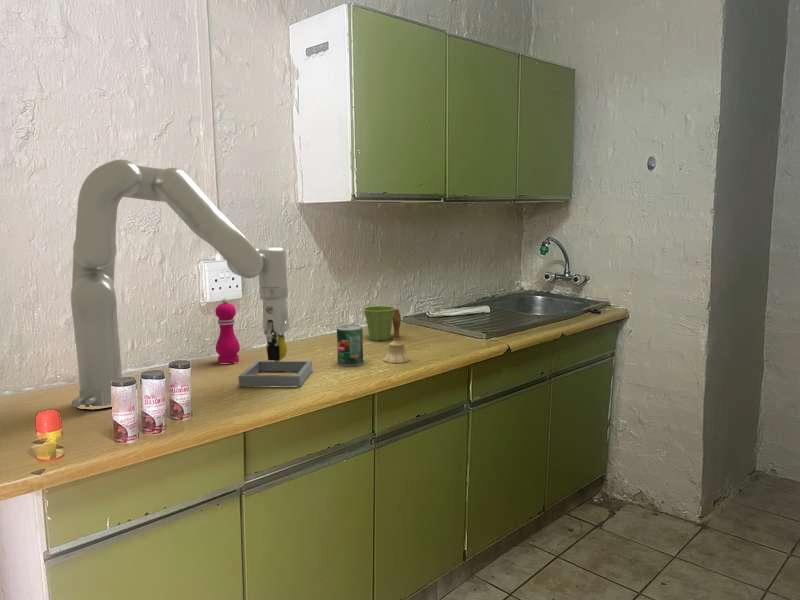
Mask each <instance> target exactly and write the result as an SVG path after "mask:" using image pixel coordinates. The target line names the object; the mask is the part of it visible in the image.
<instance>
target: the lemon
mask: <svg viewBox="0 0 800 600" xmlns="http://www.w3.org/2000/svg"><path fill="white" fill-rule="evenodd" d="M272 338H274V339H275V337H272ZM278 346H279V350H280V360H273V361H275V362H277V363H278V362H279V361H282V360H283V359H285V357H286V354H287V351H288V349H287V348H288V347H287V342H286V339H285V340H284V339H283V338H282V337H281V336H278ZM265 349H266V354H267V355H268V352H267V345H266V348H265Z"/></svg>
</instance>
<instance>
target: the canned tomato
mask: <svg viewBox="0 0 800 600" xmlns="http://www.w3.org/2000/svg"><path fill="white" fill-rule="evenodd" d="M363 334H364V333H363V326H362V325H359V324H344V325H338V326H337V327H336V343H337V344H336V347H337V348H336V349H337V350H336V351H337V364H338V365H340V366H344V367H346V366H347V367H348V366H349V367H350V366H351V367H352V366H359V365H362V364H363V363H364V340H363Z"/></svg>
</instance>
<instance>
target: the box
mask: <svg viewBox="0 0 800 600" xmlns="http://www.w3.org/2000/svg"><path fill="white" fill-rule="evenodd" d="M259 371H289V372H288V373H296V374H259V373H260V372H259ZM290 371H291V372H290ZM258 372H259V373H258ZM312 372H313V360H280V361H279V362H278V363H277V362H275V361H274V360H255V361H254V362H253V363H252V364H251V365H250V366H248V367H247V369H245V370H244V371H243V372H242V373H240V374H239V376H238V385H239V386H301V385H302V386H303V384H304V383H305V382H304V381H306V380H307V379H308V377H309V376H310V375H311V374H312ZM257 373H258V374H257ZM256 374H257V375H256ZM306 378H307V379H306ZM303 382H304V383H303ZM239 386H238V387H239ZM302 386H301V387H302Z"/></svg>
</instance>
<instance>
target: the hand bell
mask: <svg viewBox="0 0 800 600" xmlns="http://www.w3.org/2000/svg"><path fill="white" fill-rule="evenodd" d="M401 324H402V316H401V313H400V310H399V309H398V308H396V309H395V310H394V314H393V319H392V327H393V341H391V342H390V343H389V345H388V350H387V354H386V355H385V356H384V358H383V362H384V363H387V364H403V363H408V362H410V361H411V358H410V357H409V356H408V355H407V353H406V350H405V349H406V348H405V345H404V342H402V341H400V327H401Z"/></svg>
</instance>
